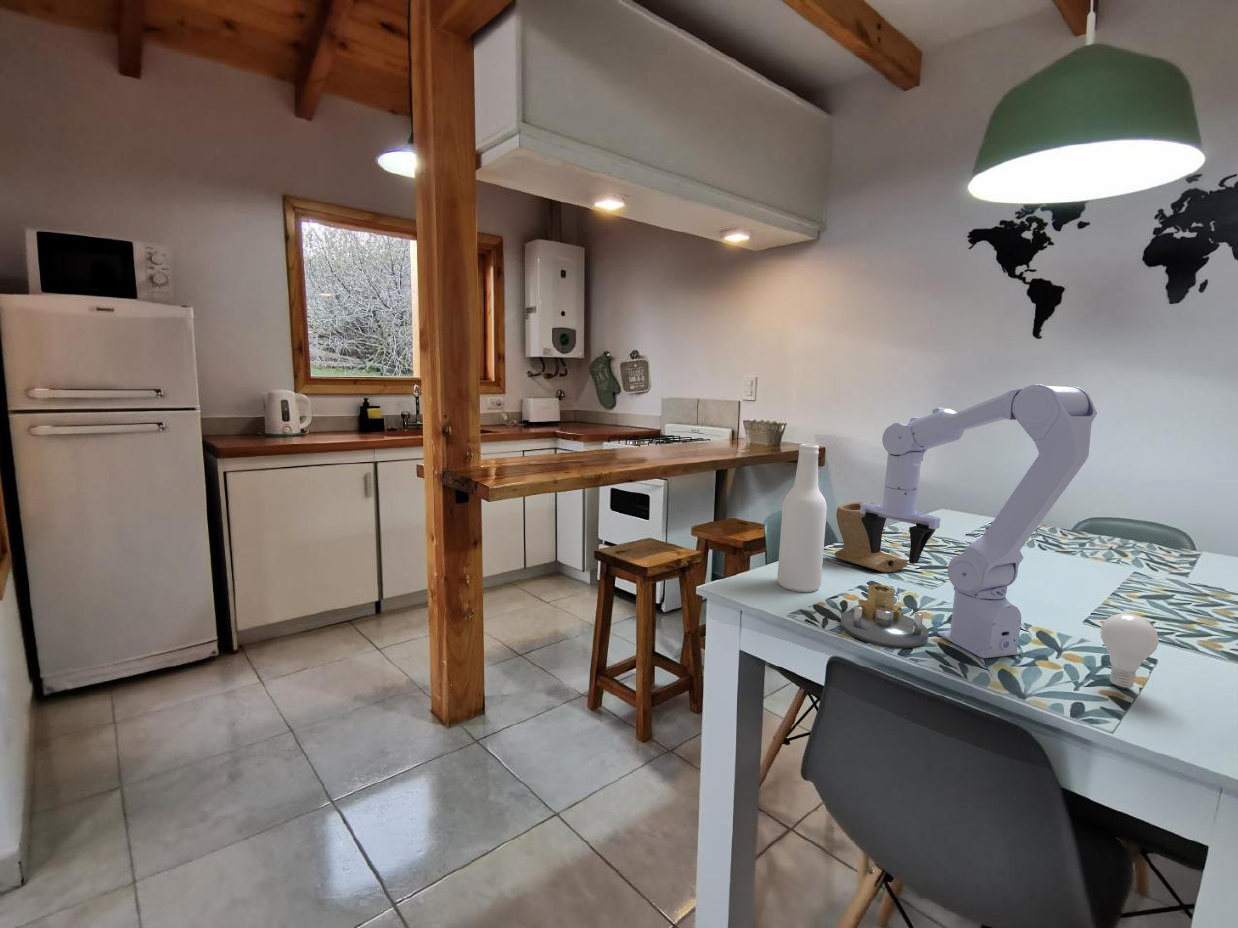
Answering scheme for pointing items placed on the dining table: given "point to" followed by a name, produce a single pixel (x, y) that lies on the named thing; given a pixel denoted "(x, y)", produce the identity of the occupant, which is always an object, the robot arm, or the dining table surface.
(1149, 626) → the lightbulb
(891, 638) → the carrier
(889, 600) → the planet gear
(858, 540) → the stone cup
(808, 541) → the alcohol
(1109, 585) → the dining table surface
